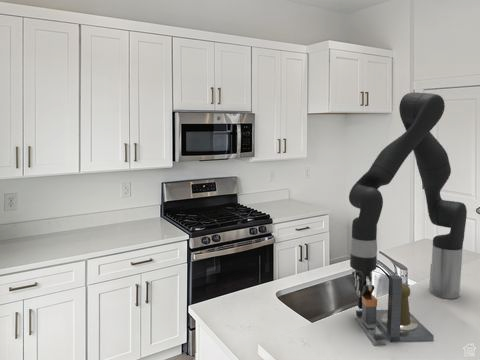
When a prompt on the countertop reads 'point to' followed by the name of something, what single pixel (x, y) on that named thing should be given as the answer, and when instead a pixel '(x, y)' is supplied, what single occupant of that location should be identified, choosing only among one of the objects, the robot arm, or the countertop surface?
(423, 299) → the countertop surface
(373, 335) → the lever rail
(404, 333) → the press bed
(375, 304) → the lever
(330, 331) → the countertop surface
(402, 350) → the countertop surface
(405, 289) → the cork
